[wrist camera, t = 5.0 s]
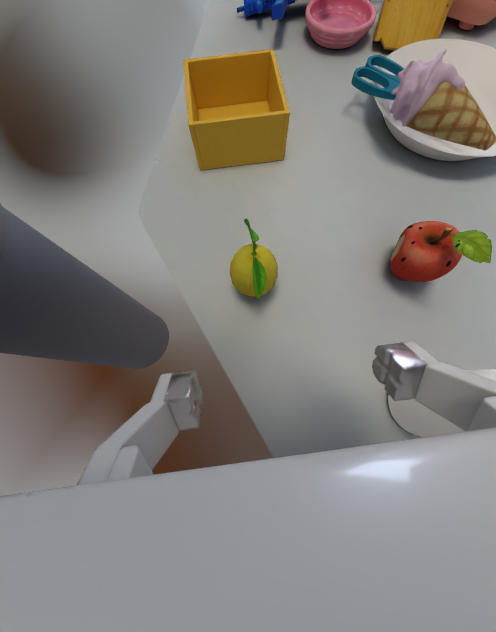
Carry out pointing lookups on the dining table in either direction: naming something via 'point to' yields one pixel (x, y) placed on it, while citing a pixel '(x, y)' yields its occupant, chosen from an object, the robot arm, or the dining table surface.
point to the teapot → (472, 12)
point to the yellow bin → (236, 109)
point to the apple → (436, 250)
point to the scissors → (378, 77)
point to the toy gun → (265, 7)
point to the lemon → (253, 268)
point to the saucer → (339, 21)
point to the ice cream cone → (440, 104)
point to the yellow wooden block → (410, 21)
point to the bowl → (480, 78)
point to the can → (426, 414)
